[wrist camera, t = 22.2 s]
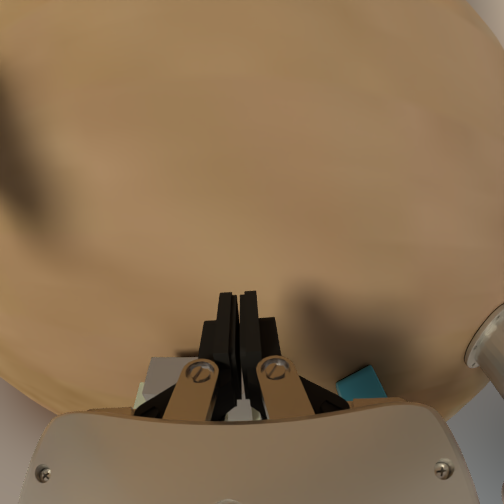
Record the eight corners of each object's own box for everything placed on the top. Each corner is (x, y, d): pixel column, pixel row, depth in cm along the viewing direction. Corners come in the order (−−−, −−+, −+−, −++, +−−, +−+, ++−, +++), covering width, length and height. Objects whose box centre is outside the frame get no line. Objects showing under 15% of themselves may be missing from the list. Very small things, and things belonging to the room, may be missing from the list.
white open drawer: (281, 342, 22) (294, 398, 17) (276, 453, 33) (281, 486, 27) (123, 347, 22) (104, 399, 16) (184, 456, 32) (182, 488, 27)
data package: (386, 399, 31) (416, 465, 20) (358, 413, 32) (383, 481, 21) (368, 359, 26) (410, 447, 16) (332, 378, 27) (363, 470, 16)
